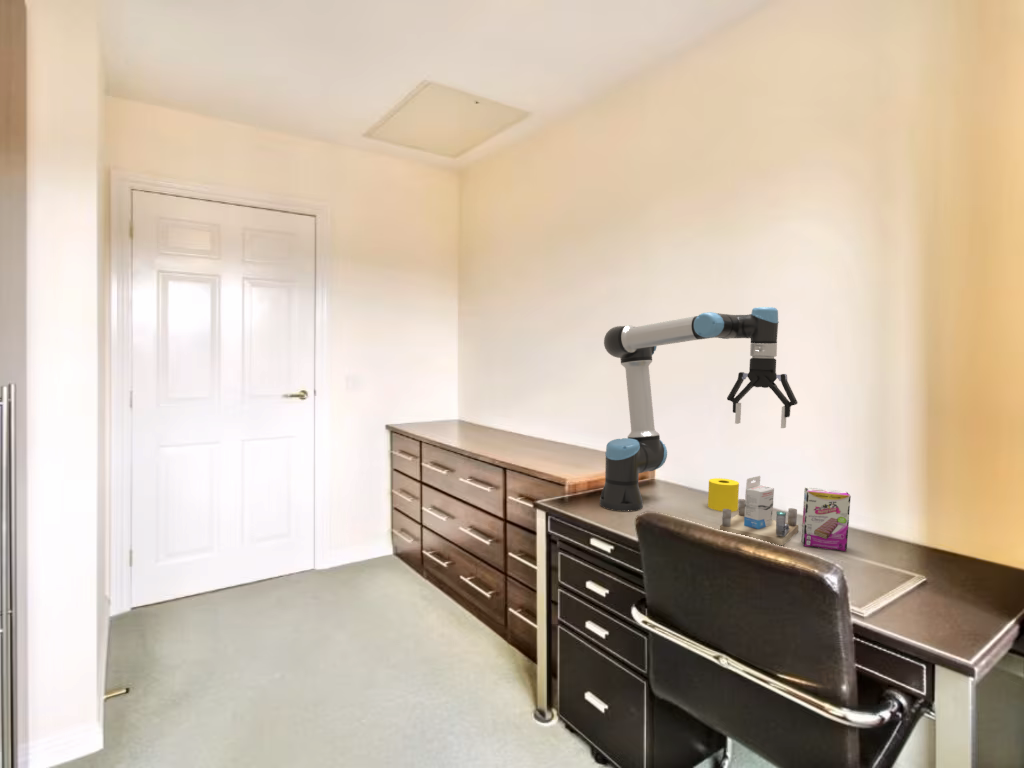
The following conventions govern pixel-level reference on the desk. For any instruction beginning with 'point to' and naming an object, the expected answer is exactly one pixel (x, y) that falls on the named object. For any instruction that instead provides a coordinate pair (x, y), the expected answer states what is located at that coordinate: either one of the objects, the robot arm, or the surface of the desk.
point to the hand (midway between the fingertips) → (759, 425)
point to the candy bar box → (825, 519)
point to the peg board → (763, 534)
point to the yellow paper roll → (723, 494)
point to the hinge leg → (781, 524)
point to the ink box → (758, 504)
